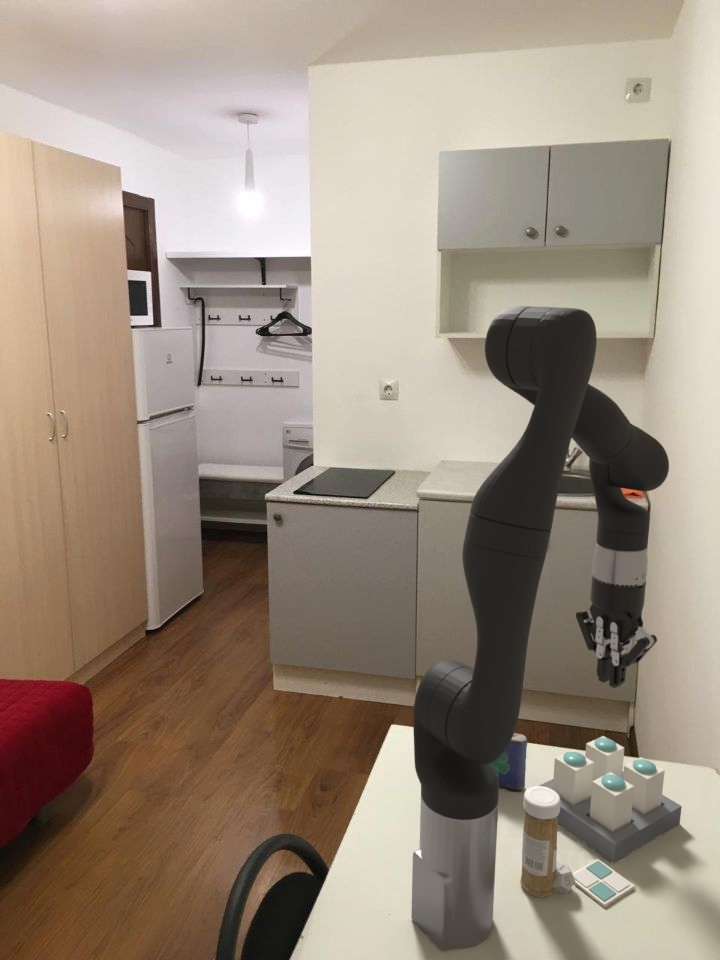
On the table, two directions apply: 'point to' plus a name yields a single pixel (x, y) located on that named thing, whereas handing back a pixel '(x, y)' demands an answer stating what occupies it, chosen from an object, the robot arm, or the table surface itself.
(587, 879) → the card
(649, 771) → the button far right
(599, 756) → the button far left
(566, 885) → the game die
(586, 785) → the button near left
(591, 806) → the button near right
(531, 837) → the sprinkles bottle
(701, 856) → the table surface
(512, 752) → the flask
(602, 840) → the button board
